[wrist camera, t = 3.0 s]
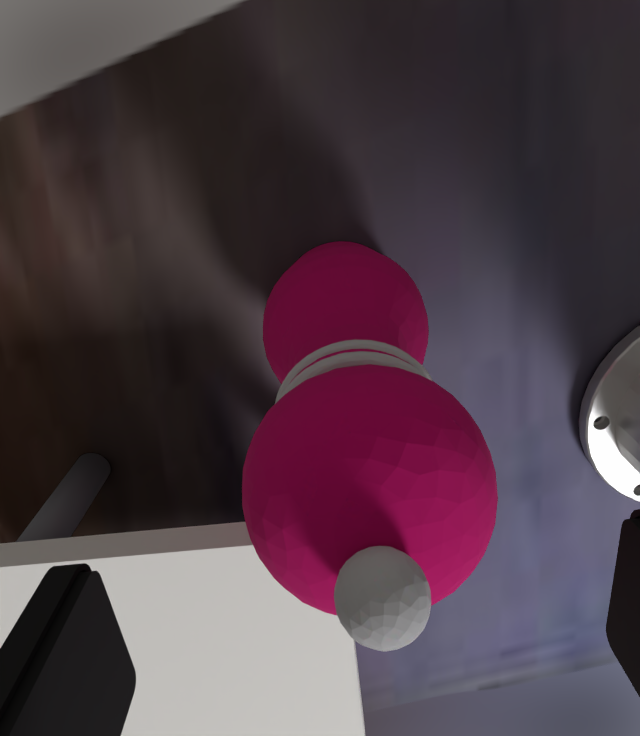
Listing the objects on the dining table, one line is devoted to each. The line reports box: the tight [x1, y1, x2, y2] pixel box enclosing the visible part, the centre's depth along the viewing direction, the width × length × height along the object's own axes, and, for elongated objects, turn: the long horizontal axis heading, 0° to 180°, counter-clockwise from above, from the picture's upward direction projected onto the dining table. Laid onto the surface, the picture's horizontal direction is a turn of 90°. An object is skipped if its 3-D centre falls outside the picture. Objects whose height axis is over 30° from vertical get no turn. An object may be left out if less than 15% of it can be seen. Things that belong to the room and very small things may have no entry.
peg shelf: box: [0, 453, 365, 736], centre depth 29 cm, size 16×14×10 cm
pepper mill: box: [242, 241, 498, 652], centre depth 18 cm, size 7×7×20 cm
